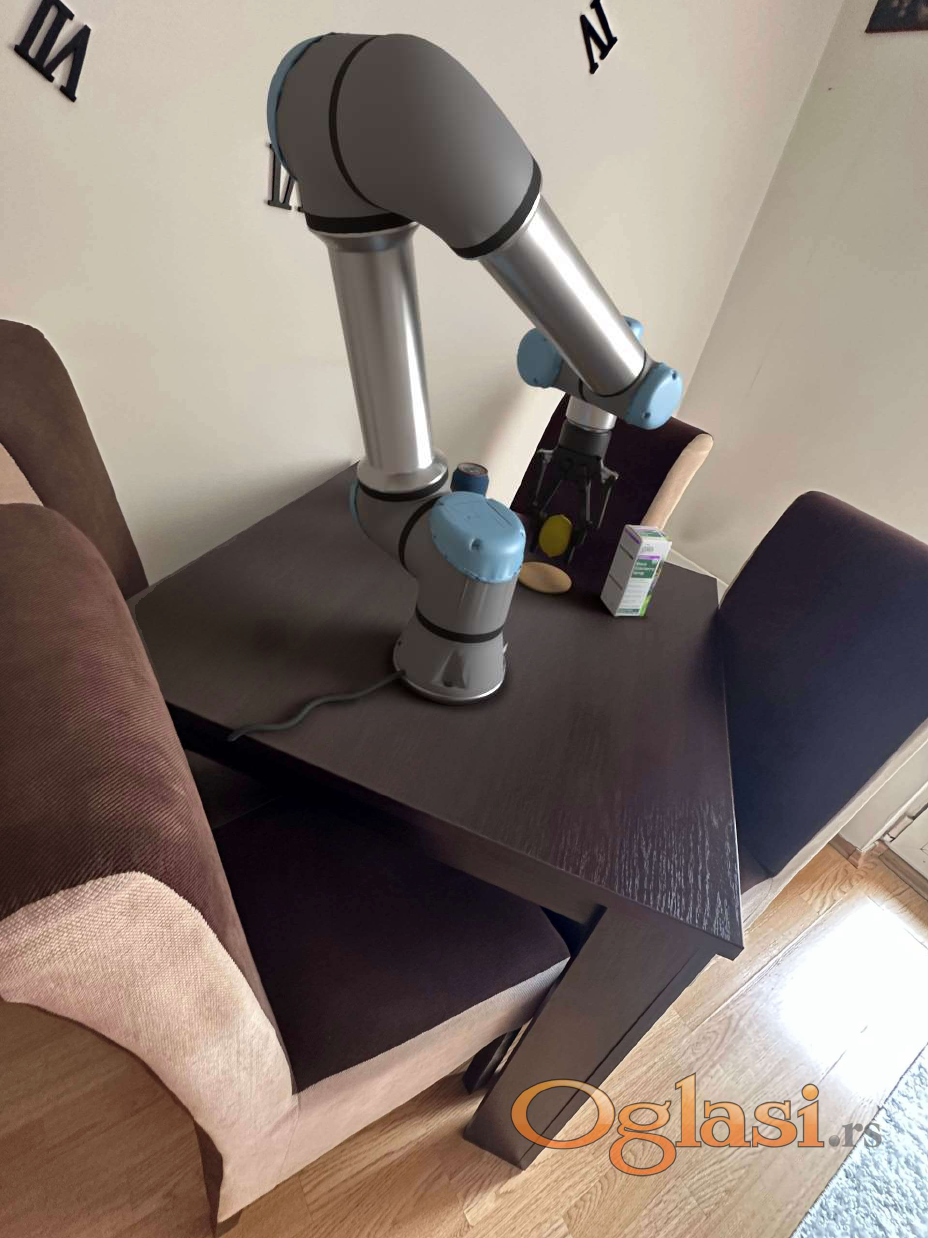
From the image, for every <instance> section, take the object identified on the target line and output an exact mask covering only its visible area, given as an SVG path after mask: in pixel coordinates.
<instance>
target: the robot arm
mask: <svg viewBox="0 0 928 1238" xmlns="http://www.w3.org/2000/svg"><path fill="white" fill-rule="evenodd" d="M266 99H267V100H266V126H267V130H268V136H269V140H270V144H271V146H272V149H273V151H274V154H275V156H276V157H277V159H278V161H279V163H280V164H281V166H282V167H283V169H284V170H285V171H286V173H287V174H288V175H289V176H290V178H291V179H292V180H294V181H295V182H296V183H297V184H298V190H299V193H300V194H299V195H300V200H301V204H302V209H303V214H304V218H305V224H306V228H307V230H308V231H309V232H310V233H311V234H313V235H314V236H315V237H316V238H317V239H319V240H320V241H321V242H322V243H323V244H324V245H325V247H326V249H327V254H328V261H329V265H330V270H331V276H332V281H333V287H334V291H335V297H336V302H337V307H338V313H339V318H340V322H341V324H340V325H341V330H342V336H343V340H344V346H345V352H346V356H347V361H348V367H349V372H350V379H351V383H352V388H353V389H352V390H353V394H354V399H355V404H356V410H357V415H358V421H359V426H360V431H361V437H362V442H363V448H364V453H365V455H364V456H363V457H362V458H361V459H360V460H359V462H358V464H357V466H356V475H355V479H356V480H355V483H352V484H351V486H350V487H351V488H350V492H349V493H350V494H349V506H350V511H351V514H352V517H353V519H354V521H355V523H356V524H357V526H358V527H359V528H360V530H361V532H362V533H363V534H364V535H365V536H366V537H367V539H369V540H370V541H371V542H372V543H374V544H375V545H376V546H377V547H379V548H380V549H382V551H384V552H385V553H386V554H387V555H388V556H389V557H390V558H392V560H394V561H395V562H396V563H397V564H398V565H399V566H401V567H402V568H403V569H404V570H405V571H407V572H408V573H409V574H410V575H411V576H412V577H413V578H414V579H416V580H417V582H418V591H417V596H416V603H415V608H414V612H413V614H412V615H411V618H410V619H409V621H408V622H407V624H406V625H405V627H404V628H403V631H402V633H401V634H400V635H399V637H398V639H397V641H396V643H395V646H394V649H393V654H392V668H393V672H394V673H392V674H389V675H387V676H384V677H382V678H381V679H379V680H376V681H375V682H373V683H371V684H369V685H368V686H365V687H363V688H361V689H359V690H357V691H353V692H349V693H341V694H329V695H328V694H327V695H322V696H319V697H316V698H314V699H312V700H310V701H309V702H307V703H306V704H305V705H304V706H302V708H301V709H300V710H299V711H298V712H297V713H296V714H295V715H294V716H292V717H290V719H288V720H286V721H283V722H278V723H250V724H246V725H242V726H240V727H239V728H237V729H235V730H234V731H232V733H231V734H229V736H227V738H226V741H228V742H233V741H236V740H237V739H238V738H240V737H241V736H243V735H244V734H247V733H251V732H278V731H279V732H280V731H283V730H287V729H290V728H291V727H293V726H295V725H296V724H297V723H299V722H300V721H301V720H302V719H303V718H304V717H305V716H306V715H307V714H308V713H309V712H310V710H312V709H313V708H315V707H316V706H318V705H321V704H326V703H331V702H345V701H351V700H355V699H358V698H361V697H363V696H366V695H368V694H370V693H372V692H373V691H375V690H377V689H379V688H381V687H382V686H385V685H387V684H389V683H391V682H393V681H395V680H397V679H398V680H399V681H400V682H401V683H402V684H403V686H404V687H406V688H407V689H408V690H410V691H411V692H412V693H413V694H416V695H418V696H420V697H421V698H422V699H423V698H424V699H426V700H429V701H431V702H435V703H439V704H442V705H448V706H449V705H450V706H470V705H475V704H479V703H483V702H485V701H487V700H489V699H491V698H492V697H494V696H495V695H496V694H497V693H498V692H499V690H500V689H501V688H502V685H503V682H504V679H505V675H506V668H507V664H506V662H507V661H506V657H505V652H506V650H507V647H508V643H509V642H507V643H506V644H505V645H504V635H503V634H504V633H503V631H504V627H505V623H506V621H507V616H508V613H509V610H510V605H511V601H512V598H513V595H514V592H515V589H516V585H517V582H518V575H519V572H520V569H521V567H522V563H523V561H524V552H525V547H526V538H527V537H526V530H525V527H524V525H523V523H522V521H521V519H520V518H519V516H518V515H517V514H516V513H515V512H514V511H512V509H510V508H509V507H508V506H507V505H505V504H503V503H502V502H501V501H499V500H496V499H495V498H492V497H489V498H487V497H486V498H485V497H484V496H483V495H481V494H477V493H473V492H464V491H459V492H452V491H451V488H450V485H451V482H450V474H449V463H448V458H447V456H446V454H445V453H444V451H442V449H440V448H438V447H437V446H436V445H435V444H434V442H435V441H434V435H433V425H432V423H433V422H432V413H431V404H430V394H429V385H428V384H429V383H428V375H427V364H426V354H425V345H424V335H423V327H422V316H421V315H422V314H421V306H420V298H419V297H420V296H419V287H418V277H417V268H416V259H415V257H416V256H415V248H414V236H415V233H416V232H417V231H418V229H419V228H420V226H423V227H425V228H426V229H428V230H429V231H430V232H432V233H433V234H434V235H436V236H437V237H438V238H439V239H441V240H442V241H443V242H444V243H445V244H446V245H447V246H448V248H450V250H451V251H452V252H453V253H454V254H455V255H456V256H457V257H459V258H460V259H462V260H464V261H472V262H473V261H477V262H478V263H479V264H480V265H481V267H482V268H483V269H484V270H485V271H486V273H488V275H489V276H490V277H491V278H492V279H493V280H494V281H495V283H497V285H498V286H499V287H500V288H501V290H502V291H503V292H504V293H505V294H506V295H507V296H508V297H509V299H510V300H511V301H512V302H513V303H514V304H515V306H516V307H517V308H518V309H519V310H520V311H521V312H522V313H523V314H524V315H525V317H526V318H527V319H528V320H529V321H530V322H531V324H532V325H533V326H534V327H533V328H531V329H529V330H528V331H527V332H526V333H525V334H524V335H523V336H522V338H521V340H520V342H519V345H518V349H517V353H516V368H517V371H518V374H519V376H520V378H521V380H522V381H523V382H524V383H525V384H526V385H528V386H530V387H533V388H541V389H543V390H546V389H549V388H553V389H556V390H559V391H562V392H564V393H565V394H567V395H570V398H569V402H568V405H567V409H566V413H565V416H566V419H565V420H563V423H562V427H561V431H560V434H559V437H558V442H557V445H556V447H555V448H554V449H553V450H547V449H545V448H540V449H539V450H538V451H537V452H535V454H534V463H535V464H534V465H535V467H534V470H533V473H532V476H531V480H530V483H529V486H528V490H527V493H526V496H525V499H524V503H523V508H524V509H525V510H528V511H529V512H531V514H532V516H531V519H530V523H529V526H528V530H529V532H530V533H533V535H532V539H531V541H530V546H529V550H528V552H529V553H532V554H533V553H535V552H536V550H537V549H538V548H539V545H540V544H539V534H540V531H541V528H542V526H543V524H544V523H545V521H546V520H547V519H546V518H547V516H548V513H546V512H543V511H544V510H545V508H546V507H547V506H548V503H549V502H551V501H550V500H551V499H552V498H553V496H554V495H555V493H556V491H557V490H558V488H559V486H560V485H561V484H562V482H563V481H565V482H571V483H573V484H574V485H577V491H578V524H577V525H576V526H575V527H574V528H573V533H572V536H571V540H570V543H569V546H568V549H567V550H566V553H565V557H564V560H563V563H562V565H565V566H568V565H569V563H570V562H571V561H572V559H573V555H574V552H575V549H581V547H582V546H583V544H584V541H585V539H586V535H587V532H593V533H596V532H597V531H598V530H599V528H600V527H601V524H602V521H603V518H604V514H605V510H606V509H607V508H606V507H607V504H608V501H609V496H610V493H611V491H612V490H611V489H612V487H613V485H614V484H615V482H616V481H617V479H618V478H619V472H618V471H617V470H616V471H615V470H614V471H612V470H610V469H609V468H608V467H606V464H605V463H606V462H605V457H606V453H607V449H608V447H609V443H610V440H611V436H612V431H611V429H613V428H614V427H615V424H616V420H617V418H618V419H620V420H621V421H624V422H626V424H628V425H634V426H637V427H639V428H642V429H644V430H654V429H658V428H659V427H661V426H663V425H664V424H666V422H667V421H668V420H669V419H670V418H671V417H672V414H673V413H675V410H676V409H677V408H678V406H679V403H680V400H681V398H682V393H683V378H682V375H681V373H680V372H679V371H678V370H677V369H674V368H672V367H671V366H668V365H667V364H666V363H664V362H662V361H661V362H659V361H656V360H655V359H653V358H652V357H651V356H650V355H649V353H648V352H647V350H646V349H645V347H644V346H643V345H642V343H641V340H642V335H643V333H644V332H643V331H644V325H643V324H642V323H641V322H640V321H639V320H637V319H635V318H634V317H630V316H627V315H623V314H622V313H621V311H620V310H619V308H618V307H617V305H616V304H615V303H614V301H613V299H612V297H610V295H609V294H608V292H607V290H606V289H605V288H604V285H602V283H601V281H600V280H599V278H598V277H597V275H596V274H595V272H594V271H593V269H592V267H591V266H590V264H589V263H588V261H586V259H585V257H584V256H583V254H582V253H581V251H580V250H579V248H578V247H577V245H576V244H575V242H574V240H573V239H572V238H571V236H570V234H569V233H568V231H567V230H566V228H565V227H564V226H563V224H562V223H561V221H560V219H559V218H558V216H557V215H556V214H555V211H553V209H552V208H551V205H550V204H549V203H548V201H547V199H546V198H545V197H544V195H543V194H542V190H543V183H544V180H543V173H542V169H541V166H540V165H539V163H538V162H537V160H536V158H535V157H534V156H533V154H532V153H531V151H530V149H529V148H528V146H527V145H526V143H525V141H524V139H523V138H522V137H521V135H520V134H519V132H518V131H517V130H516V128H515V127H514V125H513V124H512V123H511V121H510V120H509V118H508V117H507V116H506V114H505V113H504V112H503V110H502V108H500V106H499V105H498V104H497V102H496V101H495V100H494V99H493V98H492V96H491V95H490V94H489V93H488V92H487V90H486V89H485V88H484V86H483V85H482V84H481V83H480V82H479V81H478V80H477V78H476V77H475V76H474V75H473V74H472V73H471V72H469V70H468V69H467V68H466V67H465V66H464V65H463V64H462V63H461V62H460V61H459V60H457V59H456V58H455V57H453V56H452V55H451V54H450V53H448V51H446V50H445V49H444V48H443V47H441V46H439V45H437V44H435V43H433V42H431V41H429V40H427V39H425V38H422V37H420V36H417V35H414V34H410V33H409V34H407V33H388V34H370V33H369V34H367V33H351V32H345V33H344V32H336V31H330V32H328V33H326V34H321V35H317V36H314V37H310V38H307V39H305V40H303V41H301V42H299V43H297V44H295V45H294V46H293V47H292V48H291V49H290V50H288V51H287V53H286V54H285V55H284V56H283V57H282V58H281V60H280V62H279V64H278V66H277V67H276V70H275V72H274V74H273V76H272V78H271V81H270V84H269V88H268V93H267V98H266ZM551 459H552V461H553V463H554V467H555V469H556V473H555V475H554V476H553V477H552V480H551V482H550V483H549V485H548V487H547V488H546V490H545V491H544V493H543V495H542V496H541V497H540V499H539V500H538V502H536V500H537V497H538V493H539V490H540V487H541V484H542V481H543V478H544V473H545V471H546V469H547V465H548V464H549V463H550V462H551ZM598 475H601V477H600V482H601V483H602V486H601V488H600V491H599V495H598V498H597V502H596V506H595V509H594V512H593V516H592V520H590V515H591V514H590V508H591V507H590V503H591V502H590V501H591V484H592V483H591V481H592V479H594V478H595V477H597V476H598Z"/></svg>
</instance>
